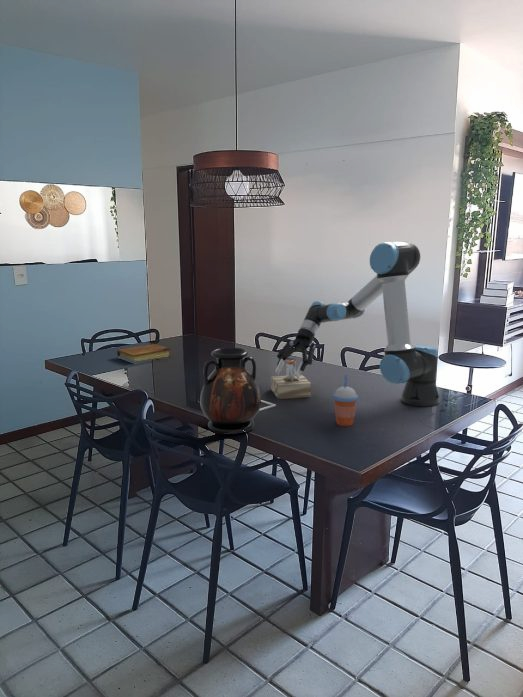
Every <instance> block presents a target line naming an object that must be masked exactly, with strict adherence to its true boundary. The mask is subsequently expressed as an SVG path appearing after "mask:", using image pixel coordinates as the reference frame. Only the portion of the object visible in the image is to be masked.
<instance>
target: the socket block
mask: <svg viewBox="0 0 523 697" xmlns="http://www.w3.org/2000/svg"><path fill="white" fill-rule="evenodd" d="M270 378H271V389H270V390H271V391H272V392H273V393H274V395H275V397H276V398H277V399H278V400H280V399H285V400H286V399H296V398H297V399H298V398H311V397H312V395H311V394H312V383H311V381H310V380H309V379H307V378H306V377H305V376H304V375H303V374H301V375H300V377H299V378H297V377H296V381H294V382H286V375H277V376H271V377H270Z"/></svg>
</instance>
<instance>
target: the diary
mask: <svg viewBox="0 0 523 697" xmlns="http://www.w3.org/2000/svg"><path fill="white" fill-rule="evenodd" d="M170 351H171V348H170V347H167V346H163V345H159V344H156V343H150V344H145V345H138V346H133V347H126V348H122V349H121V348H120V349H117V350H116V356H121V357H123V358H126V359H129V360H132V361H134V362H136V361H142V360H148V359H154V358H161V357H168V356H170Z"/></svg>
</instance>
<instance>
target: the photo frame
mask: <svg viewBox="0 0 523 697" xmlns="http://www.w3.org/2000/svg"><path fill="white" fill-rule="evenodd" d="M261 403H262V404H263V403H264V404H266V405H267V406H265V407H260V409H259V412H261V411H264V410H267V409H271V408H274V407H276V406H277V404H276V403H275V404H274V403H272V402H269V401H265V400H262V399H261Z"/></svg>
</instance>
